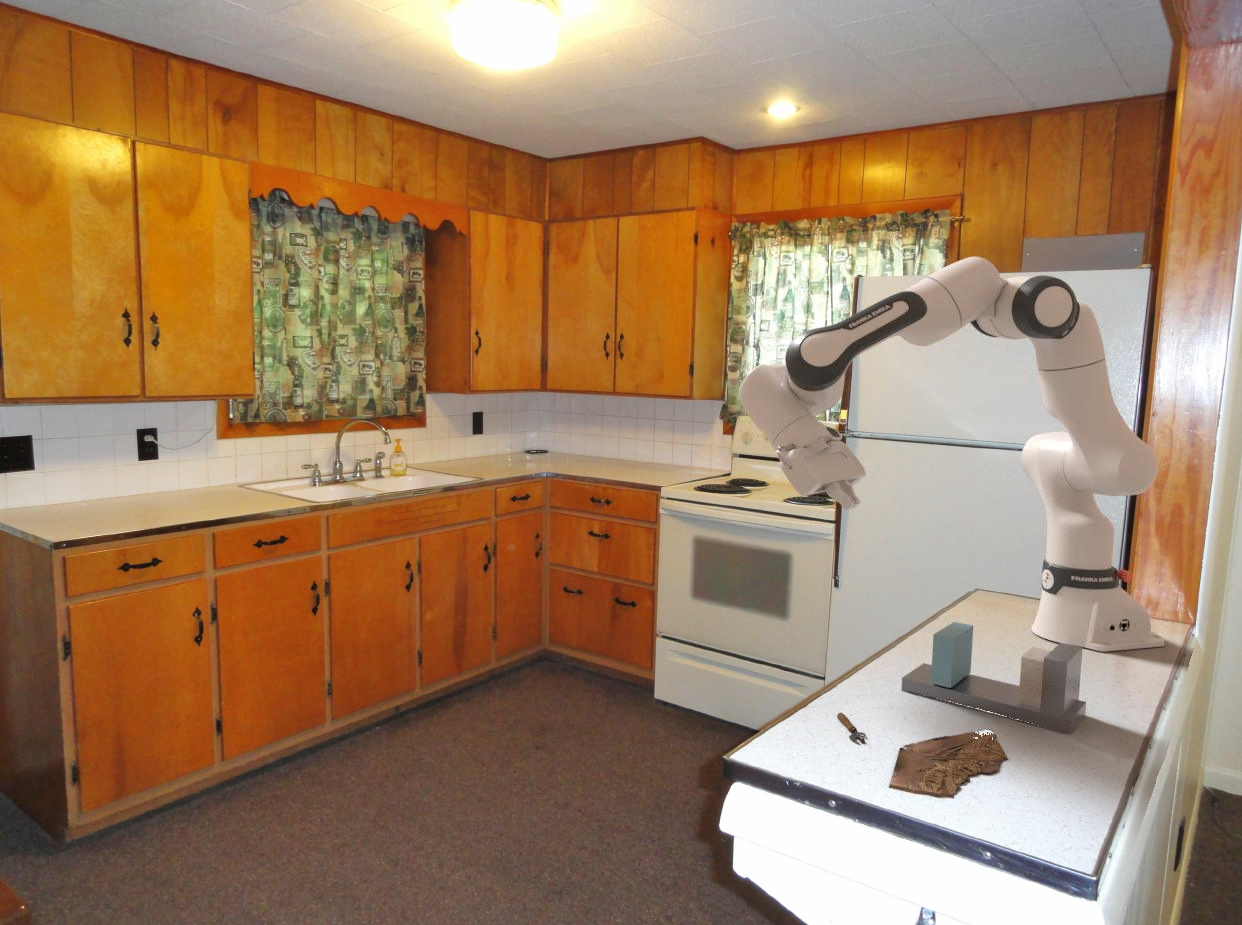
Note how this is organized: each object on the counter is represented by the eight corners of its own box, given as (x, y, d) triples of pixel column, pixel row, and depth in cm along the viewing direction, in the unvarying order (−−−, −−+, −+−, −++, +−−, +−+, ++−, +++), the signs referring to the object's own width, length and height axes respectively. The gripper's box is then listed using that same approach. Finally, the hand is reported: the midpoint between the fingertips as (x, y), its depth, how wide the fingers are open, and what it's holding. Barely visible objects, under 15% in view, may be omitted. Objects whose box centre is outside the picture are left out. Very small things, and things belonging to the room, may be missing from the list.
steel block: (1018, 703, 121) (1021, 656, 121) (1029, 691, 126) (1033, 646, 125) (1040, 709, 119) (1044, 661, 119) (1051, 697, 124) (1054, 651, 123)
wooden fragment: (934, 810, 95) (935, 801, 95) (853, 774, 104) (854, 766, 104) (1039, 750, 112) (1039, 742, 111) (961, 723, 120) (962, 716, 120)
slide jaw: (930, 683, 128) (933, 634, 127) (951, 667, 135) (954, 621, 134) (950, 688, 126) (953, 638, 125) (970, 672, 133) (973, 625, 132)
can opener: (836, 719, 120) (836, 711, 120) (852, 719, 120) (853, 712, 120) (853, 747, 111) (853, 739, 111) (871, 747, 111) (871, 739, 111)
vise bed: (901, 689, 131) (904, 628, 130) (923, 674, 138) (926, 616, 137) (1070, 734, 116) (1075, 664, 115) (1085, 715, 122) (1090, 649, 121)
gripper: (785, 434, 135) (838, 501, 130) (842, 429, 150) (891, 489, 145) (760, 460, 138) (811, 526, 133) (818, 452, 154) (866, 511, 148)
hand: (853, 506), depth 139 cm, fingers closed
